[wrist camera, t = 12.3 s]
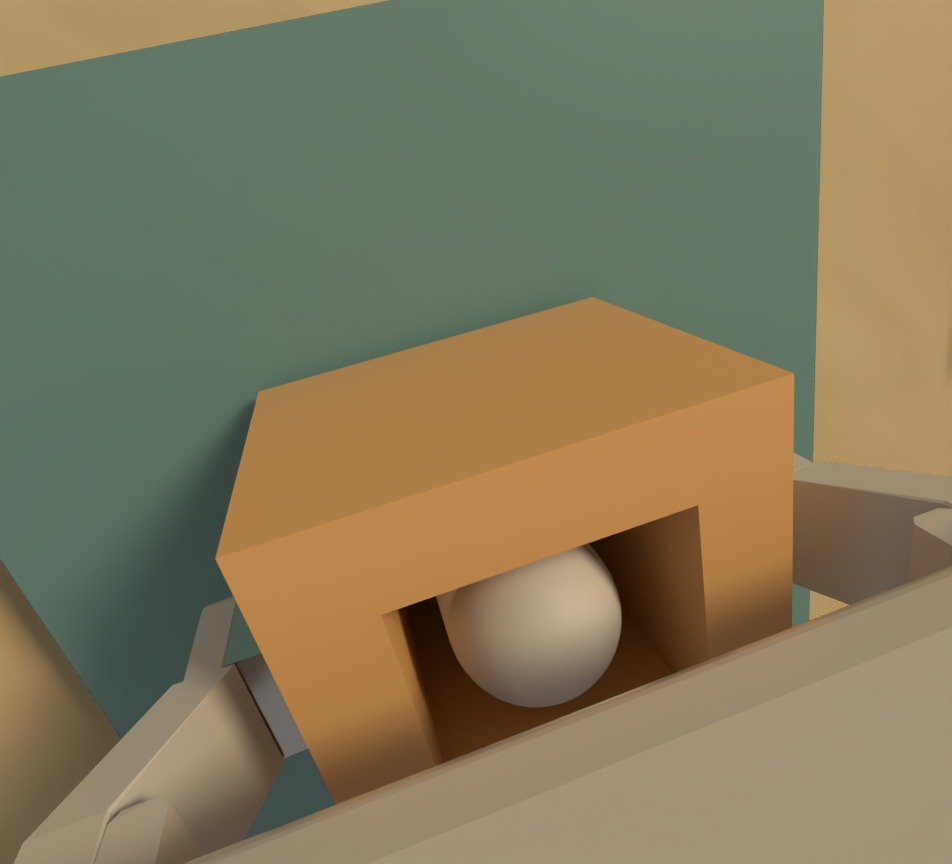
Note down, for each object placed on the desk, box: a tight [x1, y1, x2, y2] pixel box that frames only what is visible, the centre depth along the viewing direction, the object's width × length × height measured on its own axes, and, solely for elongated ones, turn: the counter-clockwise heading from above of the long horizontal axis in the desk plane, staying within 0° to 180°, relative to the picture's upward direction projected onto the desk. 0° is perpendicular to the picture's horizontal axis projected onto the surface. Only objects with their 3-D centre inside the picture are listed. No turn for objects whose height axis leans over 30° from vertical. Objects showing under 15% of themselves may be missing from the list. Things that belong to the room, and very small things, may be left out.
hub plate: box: [0, 0, 824, 840], centre depth 10 cm, size 16×16×7 cm
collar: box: [215, 297, 794, 804], centre depth 9 cm, size 6×6×5 cm
